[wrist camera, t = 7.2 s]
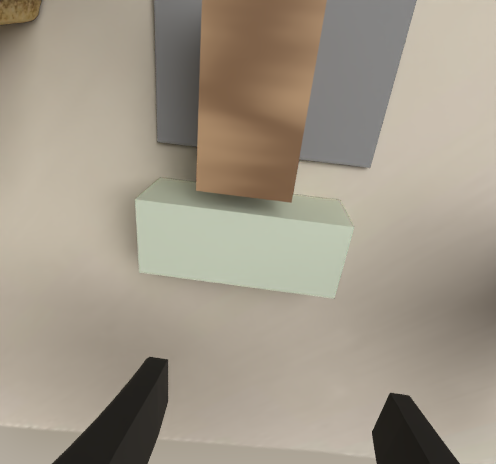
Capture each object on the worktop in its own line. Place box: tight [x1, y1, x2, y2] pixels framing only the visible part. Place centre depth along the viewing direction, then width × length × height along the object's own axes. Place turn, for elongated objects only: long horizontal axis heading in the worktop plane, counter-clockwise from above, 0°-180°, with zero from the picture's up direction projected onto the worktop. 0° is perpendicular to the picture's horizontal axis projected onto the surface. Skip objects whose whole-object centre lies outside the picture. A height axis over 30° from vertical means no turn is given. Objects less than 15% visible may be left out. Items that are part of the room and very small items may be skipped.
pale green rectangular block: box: [135, 178, 354, 299], centre depth 17 cm, size 10×4×4 cm, turn 84°
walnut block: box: [196, 0, 327, 203], centre depth 14 cm, size 4×4×7 cm
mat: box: [154, 0, 417, 168], centre depth 14 cm, size 11×10×1 cm
